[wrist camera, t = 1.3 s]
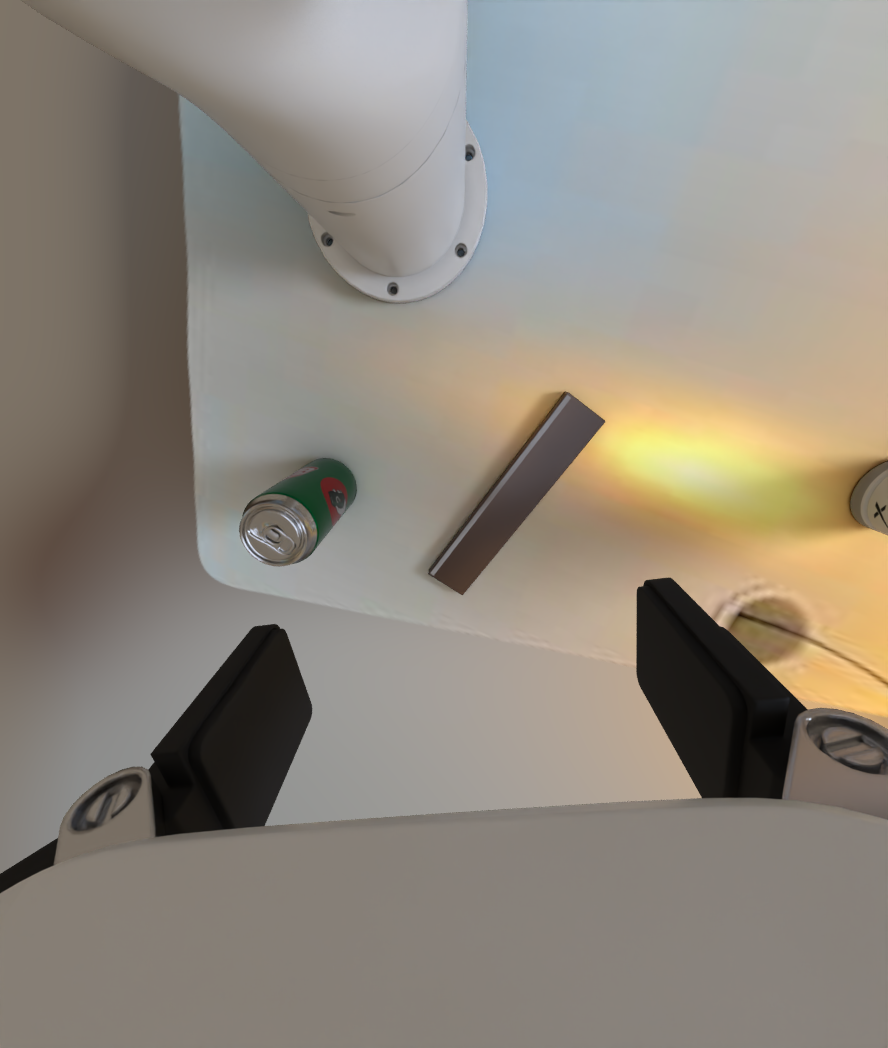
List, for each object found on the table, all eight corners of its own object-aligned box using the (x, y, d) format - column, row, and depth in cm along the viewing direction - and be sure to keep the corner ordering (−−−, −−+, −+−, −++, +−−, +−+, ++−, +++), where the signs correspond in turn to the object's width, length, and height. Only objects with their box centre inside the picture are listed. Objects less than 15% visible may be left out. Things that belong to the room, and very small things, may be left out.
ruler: (428, 570, 40) (428, 574, 39) (565, 391, 33) (568, 392, 32) (462, 591, 40) (462, 596, 39) (602, 420, 34) (606, 421, 33)
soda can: (324, 444, 36) (261, 480, 24) (369, 483, 37) (329, 535, 25) (291, 485, 37) (217, 537, 26) (335, 521, 38) (283, 586, 27)
